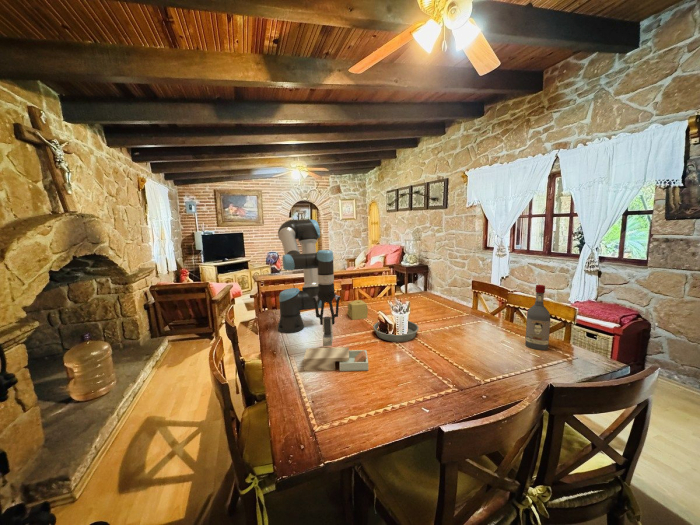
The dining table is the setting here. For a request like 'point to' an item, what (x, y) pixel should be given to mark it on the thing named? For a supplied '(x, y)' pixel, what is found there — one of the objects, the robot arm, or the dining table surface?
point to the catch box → (353, 365)
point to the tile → (360, 357)
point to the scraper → (327, 332)
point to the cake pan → (398, 338)
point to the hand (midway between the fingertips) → (327, 330)
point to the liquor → (538, 323)
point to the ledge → (324, 358)
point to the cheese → (357, 310)
